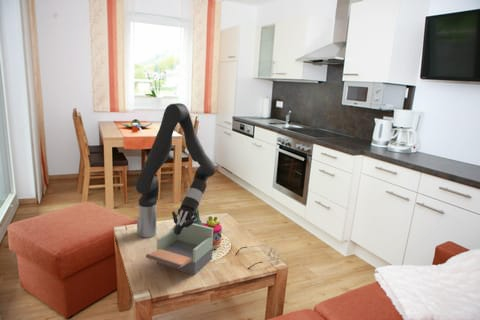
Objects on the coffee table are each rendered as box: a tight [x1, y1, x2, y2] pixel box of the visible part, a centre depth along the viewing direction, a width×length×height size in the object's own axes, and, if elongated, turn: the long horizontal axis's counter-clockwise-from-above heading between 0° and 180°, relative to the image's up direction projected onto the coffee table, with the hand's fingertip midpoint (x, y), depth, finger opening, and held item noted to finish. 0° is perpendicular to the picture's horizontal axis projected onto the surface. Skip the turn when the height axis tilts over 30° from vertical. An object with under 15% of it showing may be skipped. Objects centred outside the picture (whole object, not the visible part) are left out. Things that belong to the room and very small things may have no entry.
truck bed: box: [156, 223, 213, 276], centre depth 159 cm, size 16×20×16 cm
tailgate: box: [145, 249, 192, 268], centre depth 147 cm, size 1×17×10 cm
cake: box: [202, 215, 223, 251], centre depth 176 cm, size 10×11×15 cm
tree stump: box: [173, 207, 206, 229], centre depth 193 cm, size 18×20×18 cm
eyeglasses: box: [235, 242, 281, 269], centre depth 167 cm, size 16×19×5 cm
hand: (176, 234), depth 150 cm, fingers closed
